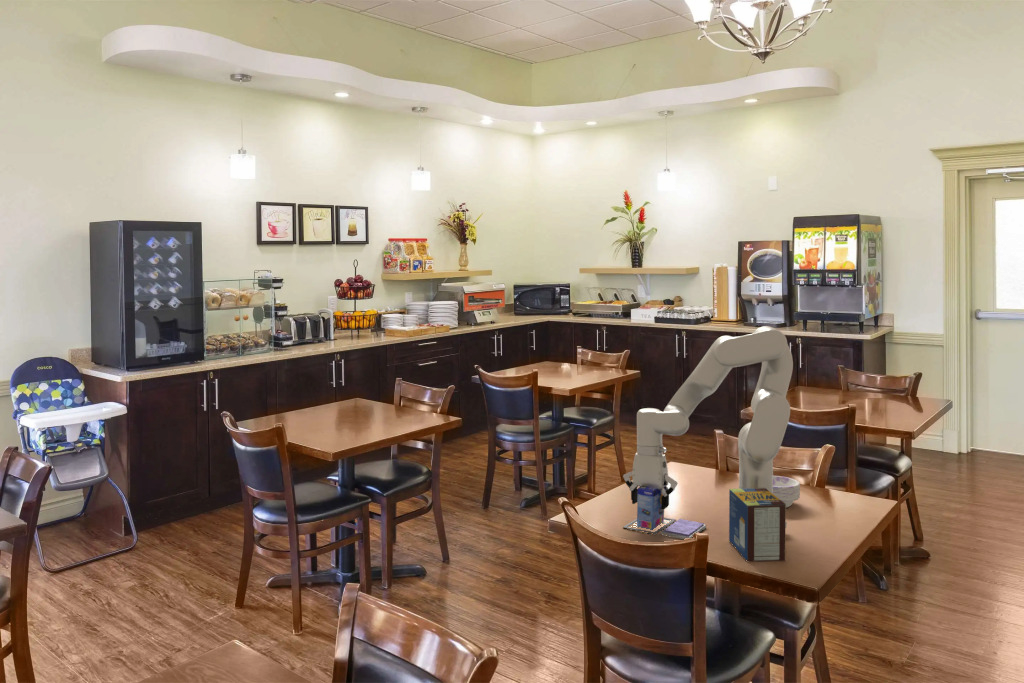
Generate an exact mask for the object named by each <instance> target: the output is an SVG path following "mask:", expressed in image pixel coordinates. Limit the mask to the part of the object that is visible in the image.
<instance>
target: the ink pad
mask: <svg viewBox="0 0 1024 683" xmlns="http://www.w3.org/2000/svg"><path fill="white" fill-rule="evenodd" d="M706 528H707V524H705V523H704V522H699V521H692V520H690V519H689V520H688V519H683V518H679V519H677V520H676V521H675V522H674V523H673V524H671V525H670V526H668V527H667V528H665V529H664V530H662V531H661V535H662V534H663V535H662V536H664V535H667V536H666V537H669V536H670V538H674V539H679V540H684V539H685V538H692V536H693V534H694V533H697V532H700V533H702V532H703V531H704V530H706ZM702 530H703V531H702ZM692 539H693V538H692Z"/></svg>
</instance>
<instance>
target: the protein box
mask: <svg viewBox="0 0 1024 683" xmlns="http://www.w3.org/2000/svg"><path fill="white" fill-rule="evenodd" d="M728 493H729V494H728V495H729V497H728V498H729V509H728V510H729V511H728V512H729V514H728V520H729V522H728V523H729V524H728V528H729V529H728V531H729V532H728V534H729V535H728V542H729V541H730V542H731V543H732V544H733V545H732V544H731V543H730V542H729V543H730V544H731V545H732V546H733V547H734V546H735V547H736V549H737V550H738V551H739V552H740V553H741V554H742V555H741V554H740V553H739V552H738V551H737V550H736V549H735V550H736V551H737V552H738V553H739V554H740V555H741V557H742V556H743V557H744V558H745V559H746V560H747V561H757V562H776V561H779V562H780V561H781V562H782V561H783V562H784V561H786V529H787V527H786V522H787V521H786V518H787V517H786V515H787V514H786V512H787V511H786V510H787V509H786V508H787V507H786V504H785V503H784V502H783V501H781V500H780V499H779V498H777V497H776V496H775V495H774V494H772V493H771V492H770V491H768V490H767V489H766V488H741V489H739V488H729V492H728ZM785 528H786V529H785ZM735 547H734V548H735ZM743 557H742V558H743ZM744 558H743V559H744ZM745 559H744V560H745ZM746 560H745V561H746ZM747 561H746V562H747Z"/></svg>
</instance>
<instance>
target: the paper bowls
mask: <svg viewBox="0 0 1024 683" xmlns="http://www.w3.org/2000/svg"><path fill="white" fill-rule="evenodd" d="M800 493H801V483H800V481H799V480H796V479H794V478H792V477H787V476H783V475H782V476H780V475H773V494H774V495H775V496H776V497H777V498H779V499H780V500H781V501H783V502H784V503H785V504H786V508H789V507H791V505H792V504H793V503H794V502H795V501H798V500H799V499H800V495H801V494H800Z"/></svg>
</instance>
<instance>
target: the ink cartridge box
mask: <svg viewBox="0 0 1024 683" xmlns="http://www.w3.org/2000/svg"><path fill="white" fill-rule="evenodd" d="M637 489H638V500H637V503H636V504H637V505H636V506H637V508H636V509H637V510H636V511H637V512H636V513H637V514H636V519H637V527H641V528H646V529H650V530H653V529H654V528H656V527H657V526H658V525H660V524H661V523H662V522H664V517H665V509H662V508H661V497H662V496H663V494H662V493H661V491H660V490H659V489H657V488H653V487H647V486H638V487H637Z"/></svg>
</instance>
